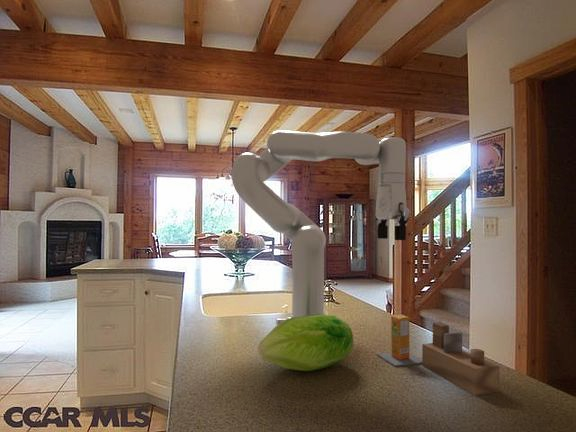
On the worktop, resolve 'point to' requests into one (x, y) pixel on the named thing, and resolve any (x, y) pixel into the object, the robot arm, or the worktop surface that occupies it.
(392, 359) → the mat
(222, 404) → the worktop surface
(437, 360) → the brown wooden block shape
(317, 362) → the lettuce
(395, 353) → the supplement box
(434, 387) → the worktop surface
